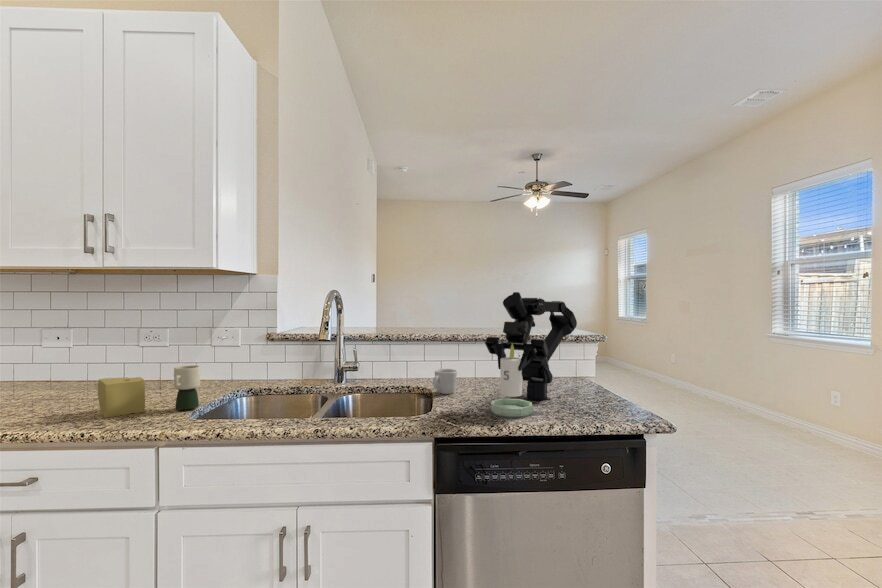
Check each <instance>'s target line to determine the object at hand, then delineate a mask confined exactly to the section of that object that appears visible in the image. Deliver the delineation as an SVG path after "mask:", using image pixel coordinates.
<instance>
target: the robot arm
mask: <svg viewBox="0 0 882 588" xmlns="http://www.w3.org/2000/svg"><path fill="white" fill-rule="evenodd" d="M521 295H522V294H521V293H520V292H519V291H516V292H514V291H513V293H512V294H510V295H508V296H506V297H505V298H504V299H503V301H502V305H503V307H504V308H505V310H506V312H507V314H508V316H509V317H510V319H513V320H514V321H504V324H503V330H502V332H503V333H504V334H505V340H506V341H503V340H501V339H500V336H499V337H498V336H488V337H486V338H485V341H484V344H485V347H486V348H487V351H488V353H489V354H491V355H496V357H497V367H498V370H500V359H501V358H506V357H507V354H506V352H505V350H507V349H508V350H509V351H510V350H511V345H512V344H513V346H514V351H523V352H522V355H521V357H520V358H521V361H520V364H519V367H518V370H519V371H521V370H522V382H523V381H524V382H527V383H526V384H527V385H526V396H524V397H523V400H527V401H531V402H537V403H540V402H544V401H551V400H552V399H551V398H550V397H548V384H551V383H552V382H553V374H552V372H551V371H550V365H549V361H550V360H551V357H552V356H553V355H554V353H555V352H556V350H557V348H558V346H559V345H560V343H561V342H562V341H563V339H564V338H565V337H566V336H569V335H571V334H572V333H573V332H574V331H575V329H576V327H577V326H578V322H577V318H576V316H575V313H574V312H573V311H572V310H571V309H570V308H568V307H567V304H566V302H565V301H561V300H552V301H551V300H550V301H546V300H545V299H543V298H541V297H522V296H521ZM546 312H547V313H548V312H549V318H548V320H549V321H550V326H551V330H549V333H548V334H547V335H546V336H545V339H542V338H541V339H540V338H531V336H530V333H531V331H532V328H534V327H536V322H535V321H534V320H535V319H534V316H542V315H543V314H544V315H545V313H546ZM555 313H561V314H555ZM529 340H530V343H528V341H529Z"/></svg>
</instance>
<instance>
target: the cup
mask: <svg viewBox="0 0 882 588" xmlns="http://www.w3.org/2000/svg"><path fill="white" fill-rule="evenodd" d="M457 376H458V371H457V370H456V369H452V368H439V369H435V370H434V377H433V380H432V385H433V388H434V389H435V390H436V392H437V393H438V394H440V393H442V394H441V395H451V394H454V393H455V390H456V385H457Z"/></svg>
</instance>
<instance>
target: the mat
mask: <svg viewBox="0 0 882 588" xmlns="http://www.w3.org/2000/svg"><path fill="white" fill-rule="evenodd" d="M480 412H483V413H487V414H489V415H493V416H496V417H498V418H502V419H505V420H508V421H511V422H512V421H516V420H521V419H525V418H529V417H533V416H538V415H542V414H544V413H543V412H542V411H541V412H540V411H537V410H534V409H533V411H532V414H531V415H529V416H526V417H503V416H498V415H495V414H493V413H492V412H491V408H486V409H481V410H480Z"/></svg>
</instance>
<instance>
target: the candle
mask: <svg viewBox="0 0 882 588" xmlns="http://www.w3.org/2000/svg"><path fill="white" fill-rule="evenodd" d="M509 351H510V352H509V357H507V356H506V358H501V359H500V369H499V370H500V371H499V372H500V373H499V374H500V381H499V382H500V389H499V390H500V395H501V396H504V397H512V398H513V397H514V398H516V397H520V396H522V395H523V378H522V370H521V371H519V370H518V367H519V364H520V361H521V358H522V357H515V350H514V346H513V344H512V345H511V350H510V349H509Z"/></svg>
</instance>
